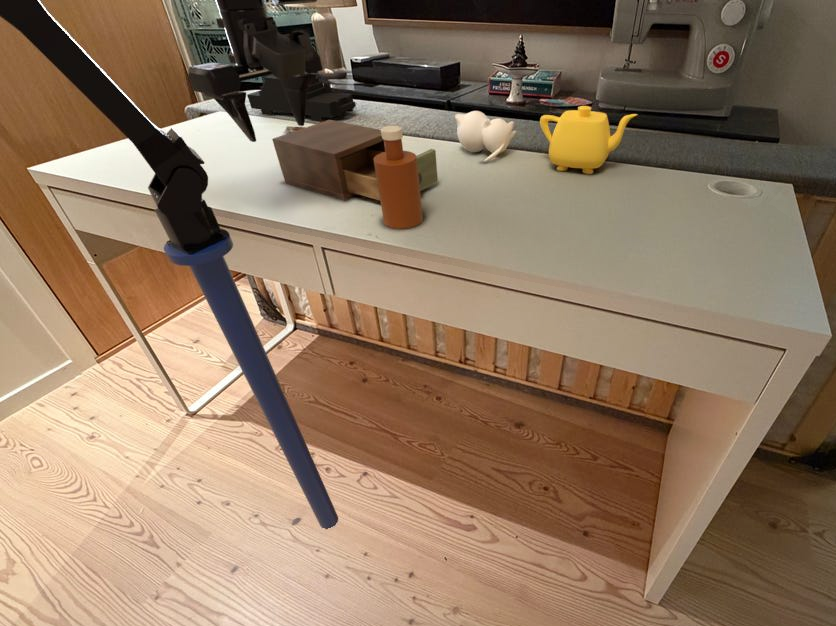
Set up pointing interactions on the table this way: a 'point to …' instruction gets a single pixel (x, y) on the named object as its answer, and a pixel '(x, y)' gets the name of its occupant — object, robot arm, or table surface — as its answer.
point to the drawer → (363, 172)
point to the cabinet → (323, 155)
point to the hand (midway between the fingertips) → (278, 133)
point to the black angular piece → (317, 99)
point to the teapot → (582, 138)
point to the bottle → (398, 182)
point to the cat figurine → (483, 133)
